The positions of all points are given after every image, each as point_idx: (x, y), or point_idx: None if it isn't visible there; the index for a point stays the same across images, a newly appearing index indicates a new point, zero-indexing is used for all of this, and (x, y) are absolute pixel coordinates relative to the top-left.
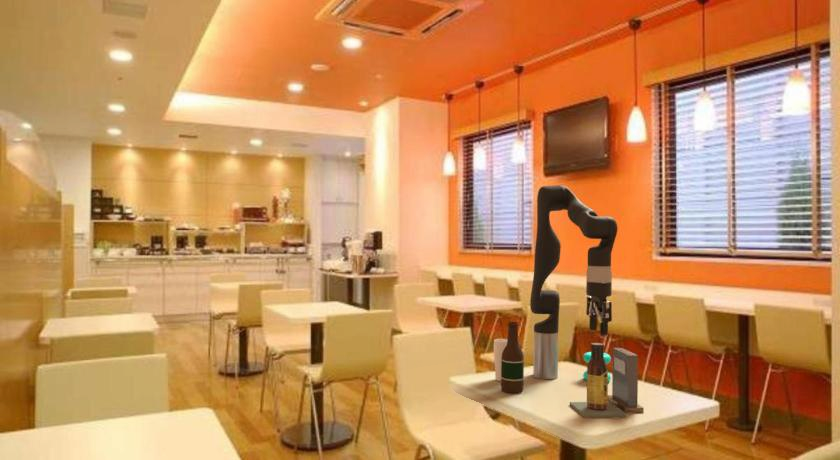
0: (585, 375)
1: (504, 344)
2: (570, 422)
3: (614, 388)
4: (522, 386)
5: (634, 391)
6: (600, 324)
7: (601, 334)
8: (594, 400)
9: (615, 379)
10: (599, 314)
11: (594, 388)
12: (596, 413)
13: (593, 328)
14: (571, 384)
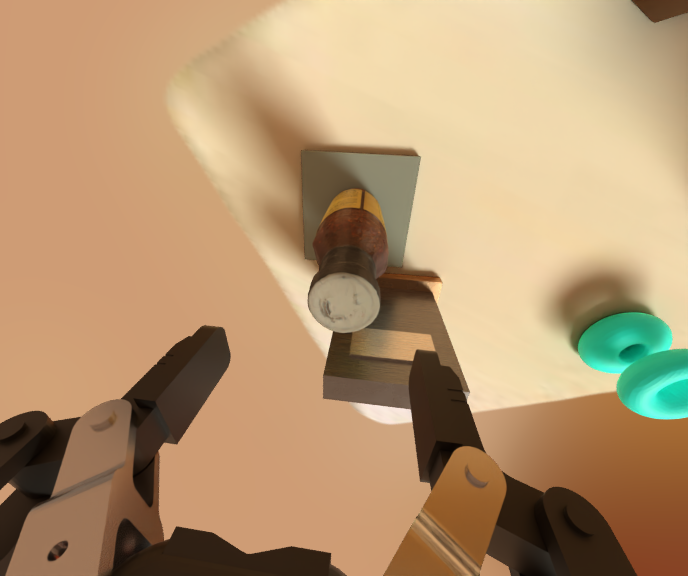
0: (639, 317)
1: None
2: (265, 86)
3: (422, 302)
4: (661, 3)
5: None
6: (154, 385)
7: (206, 328)
8: (332, 201)
9: (420, 317)
10: (45, 503)
11: (328, 209)
12: (310, 189)
13: (413, 374)
14: (618, 256)
